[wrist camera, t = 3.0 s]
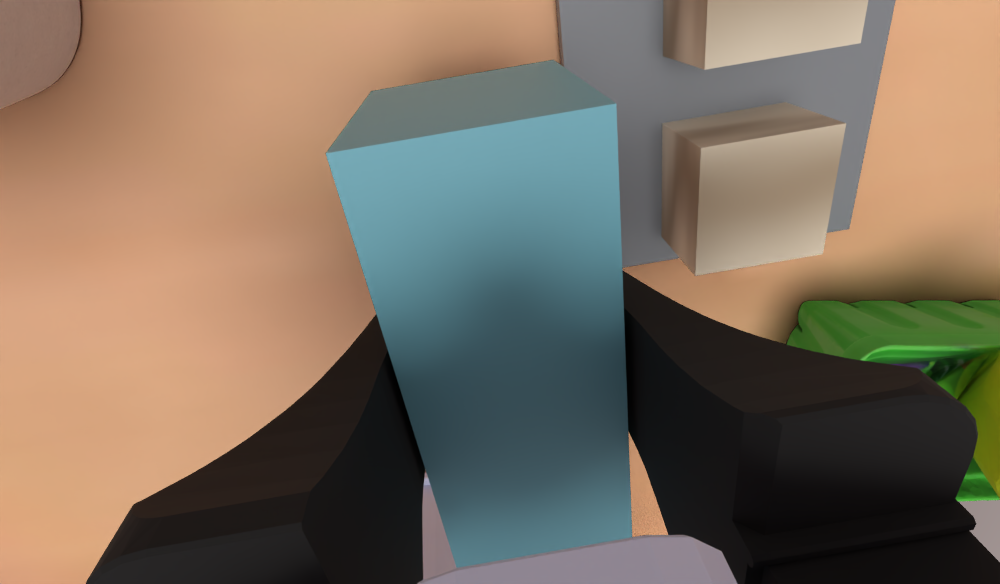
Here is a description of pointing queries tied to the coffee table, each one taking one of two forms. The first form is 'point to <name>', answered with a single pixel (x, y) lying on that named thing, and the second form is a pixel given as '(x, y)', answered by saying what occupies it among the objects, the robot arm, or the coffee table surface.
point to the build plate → (709, 99)
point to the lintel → (500, 298)
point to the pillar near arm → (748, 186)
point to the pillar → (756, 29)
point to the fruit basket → (924, 359)
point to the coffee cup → (35, 45)
